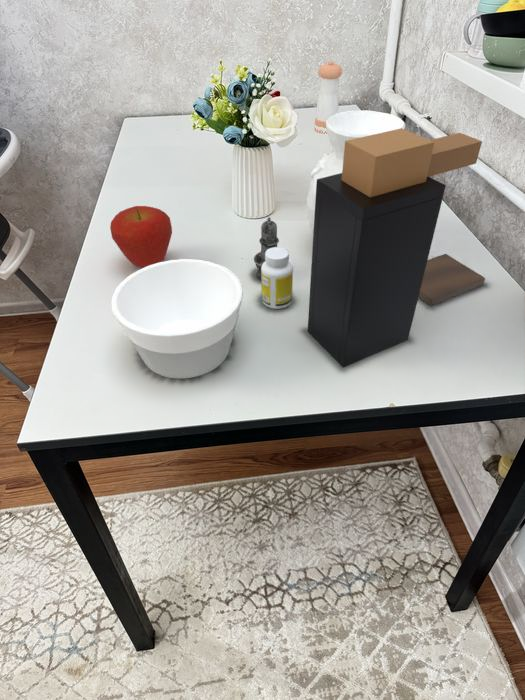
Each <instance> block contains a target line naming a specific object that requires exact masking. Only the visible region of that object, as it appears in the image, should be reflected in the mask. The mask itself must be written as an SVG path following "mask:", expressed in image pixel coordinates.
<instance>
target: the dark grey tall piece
mask: <svg viewBox="0 0 525 700" xmlns="http://www.w3.org/2000/svg"><path fill="white" fill-rule="evenodd" d="M277 225H278V224H277V223H276V222H275V221H274V220H272V218H271V217H270V216H268V217H267V218H266V220H265V221H264V222H262V223H261V226H260V234H261V235H260V238H259V240H258V241H259V244H260V251H259V252H257V253H256V254H255V255H254V256H253V262H254V263H255V266H256V268H257V271H256V272H255V278H256V279H257V280H258V281H261V282H262V279H261V267H262V264H263V263H264V262H265V252H266V251H267V250H268V249H270V248H273V247H278V243H280V239H279V237H278V226H277Z"/></svg>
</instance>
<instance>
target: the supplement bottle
mask: <svg viewBox="0 0 525 700" xmlns="http://www.w3.org/2000/svg"><path fill="white" fill-rule="evenodd" d="M293 274H294V267H293V264H292V263H291V262H290V252H289V250H288V249H287V248H284V247H281V246H277V247H273V248H270V249H268V250H267V251H266V252H265V262H264V263H263V264H262V267H261V279H262V281H261V302H262V303H263V305H264V306H265V307H267V308H270V309H274V310H280V309H284V308H288V306H290V304H291V303H292V300H293V276H294V275H293Z"/></svg>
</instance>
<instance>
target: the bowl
mask: <svg viewBox="0 0 525 700" xmlns="http://www.w3.org/2000/svg"><path fill="white" fill-rule="evenodd" d="M243 298H244V289H243V284H242V283H241V281H240V279H239V277H238V276H237V275H236V274H235V273H234V272H233V271H231V270H230V269H228V268H227V267H225V266H223V265H221V264H219V263H215V262H212V261H208V260H203V259H193V258H180V259H169V260H163V261H162V262H159V263H156V264H152V265H149V266H147V267H144V268H140V269H138V270H136V271H134V272H132V273H131V274H129V275H128V276H127V277H126V278H124V279H123V280H122V281H121V282H119V284H118V285H117V287H116V288H115V290H114V292H113V294H112V297H111V301H110V307H111V312H112V314H113V317H114V318H115V319H116V321H117V323H118V324H119V326H120V328H121V329H122V331H123V332H124V334H125V335H126V337H127V338H128V339H129V341H130V343H131V344H132V345H133V347H134V349H135V350H136V352H137V353H138V355H139V357H140V358H141V360H142V361H143V363H144V364H145V366H146V367H147V368H148V369H149V370H150V371H152V372H153V373H155V374H156V375H159V376H162V377H165V378H170V379H178V380H179V379H181V380H183V379H192V378H197V377H201V376H203V375H206V374H208V373H210V372H212V371H214V370H215V369H217V368H218V367H219V366H221V365H222V364H223V362H224V361H225V360H226V359H227V357H228V355H229V353H230V349H231V345H232V341H233V339H234V338H233V337H234V334H235V329H236V326H237V321H238V318H239V314H240V310H241V306H242V303H243Z"/></svg>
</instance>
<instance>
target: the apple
mask: <svg viewBox="0 0 525 700" xmlns="http://www.w3.org/2000/svg"><path fill="white" fill-rule="evenodd" d="M109 229H110V232H111V233H110V235H111V239H112V240H113V241H114V243H115V244H116V246H117V248H118V249H119V251H121V253H122V254H123V256H124V257H125V258H126V259H127V260H128V261H129V262H130V264H131V265H133V266H134V267H138V268H140V269H142V268H144V267H147V266H149V265H152V264H156V263H159V262H164V261H165V259H166V255H167V252H168V250H169V246H170V243H171V238H172V235H173V226H172V221H171V217H170V216H169V215H168V214H167V213H166V212H164V211H163V210H162V209H160V208H157V207H153V206H147V205H135V206H132V207H127V208H125V209H123V210H120V211H119V212H118V213H117V214H115V216H114V217H113V218H112V220H111V221H110V227H109Z"/></svg>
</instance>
